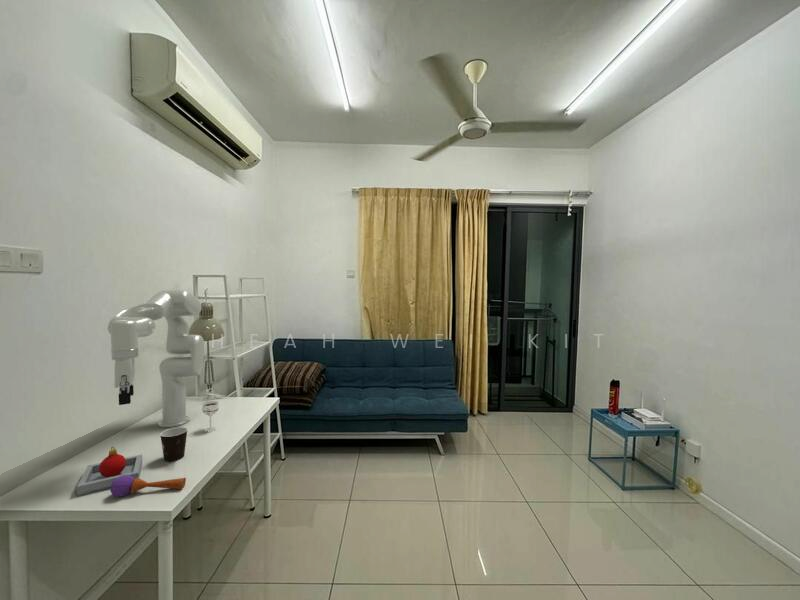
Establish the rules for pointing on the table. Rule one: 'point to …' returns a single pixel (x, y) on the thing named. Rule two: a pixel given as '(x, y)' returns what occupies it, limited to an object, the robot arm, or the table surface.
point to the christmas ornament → (112, 464)
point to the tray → (97, 482)
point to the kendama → (141, 485)
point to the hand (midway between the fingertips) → (126, 399)
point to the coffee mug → (173, 443)
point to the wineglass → (210, 411)
